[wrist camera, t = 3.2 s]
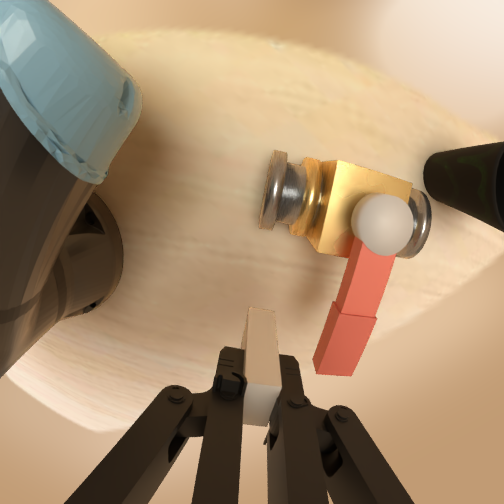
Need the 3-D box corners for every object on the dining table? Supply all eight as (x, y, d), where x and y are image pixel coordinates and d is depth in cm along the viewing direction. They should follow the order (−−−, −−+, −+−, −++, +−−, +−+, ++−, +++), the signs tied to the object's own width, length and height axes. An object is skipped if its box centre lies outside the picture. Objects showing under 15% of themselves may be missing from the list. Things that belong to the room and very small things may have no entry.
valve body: (258, 220, 27) (259, 248, 18) (272, 152, 25) (280, 142, 16) (387, 247, 28) (437, 282, 18) (402, 187, 26) (461, 199, 16)
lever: (357, 186, 16) (369, 188, 14) (404, 200, 16) (419, 204, 15) (307, 358, 20) (311, 374, 18) (350, 362, 20) (356, 377, 18)
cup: (468, 203, 26) (540, 225, 14) (422, 217, 27) (495, 247, 15) (457, 139, 24) (532, 138, 12) (409, 147, 25) (486, 144, 13)
